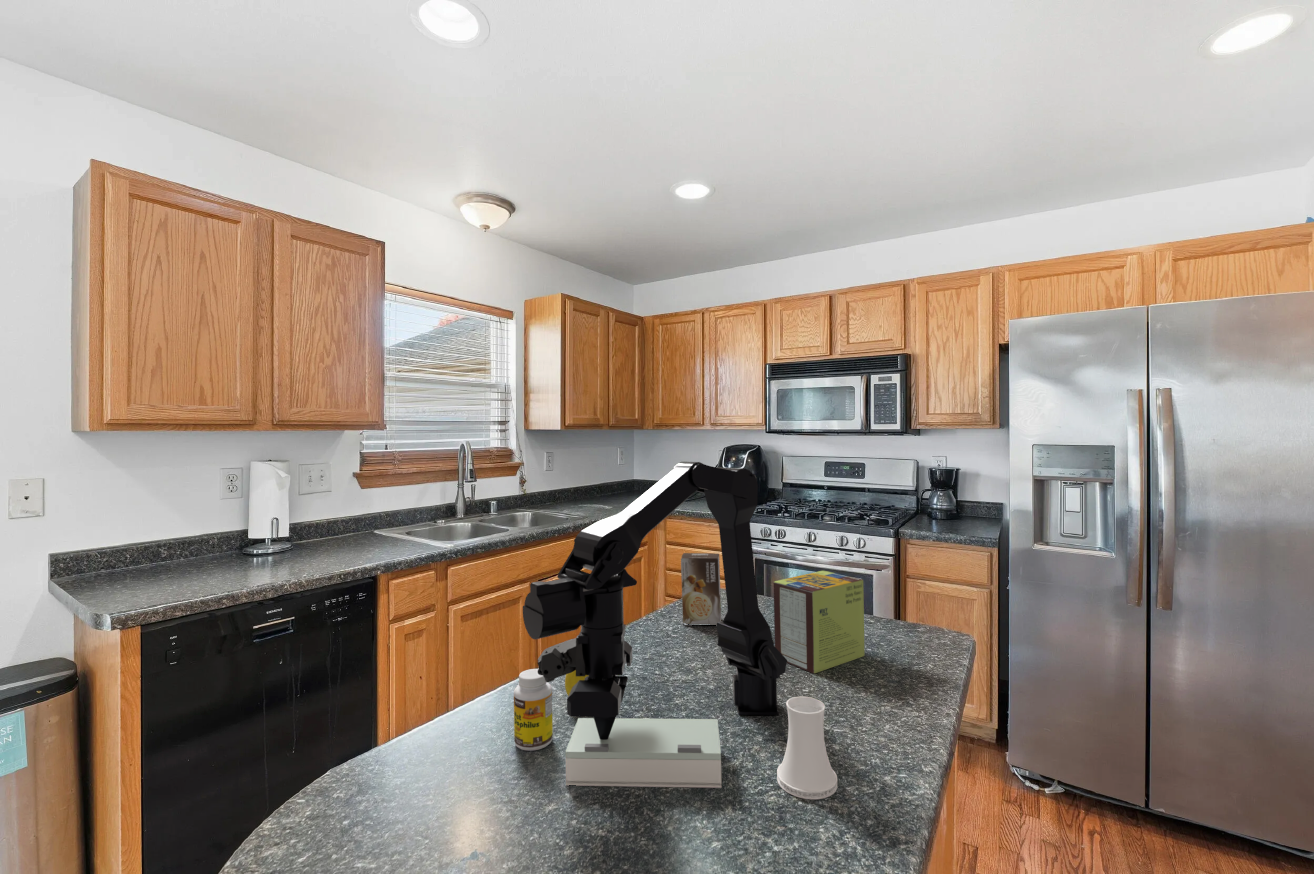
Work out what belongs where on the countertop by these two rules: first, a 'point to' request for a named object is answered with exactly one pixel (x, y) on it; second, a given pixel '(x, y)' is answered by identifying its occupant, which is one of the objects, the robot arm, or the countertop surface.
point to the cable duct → (643, 772)
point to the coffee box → (701, 588)
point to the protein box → (819, 620)
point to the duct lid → (647, 739)
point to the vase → (806, 752)
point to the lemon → (572, 680)
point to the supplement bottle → (532, 711)
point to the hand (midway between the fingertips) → (604, 738)
